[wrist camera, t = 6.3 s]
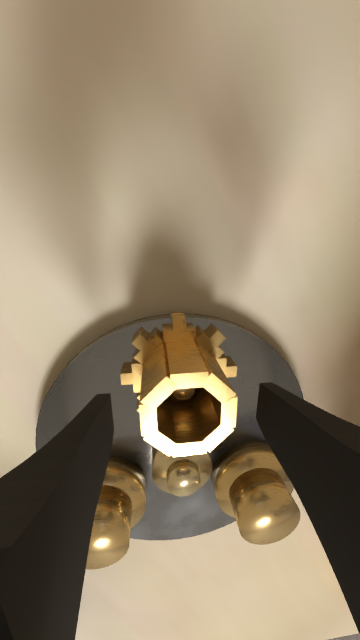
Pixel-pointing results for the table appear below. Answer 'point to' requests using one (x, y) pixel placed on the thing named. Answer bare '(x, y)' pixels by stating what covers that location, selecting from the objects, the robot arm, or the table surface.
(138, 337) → the planet gear
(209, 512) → the carrier
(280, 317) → the table surface
